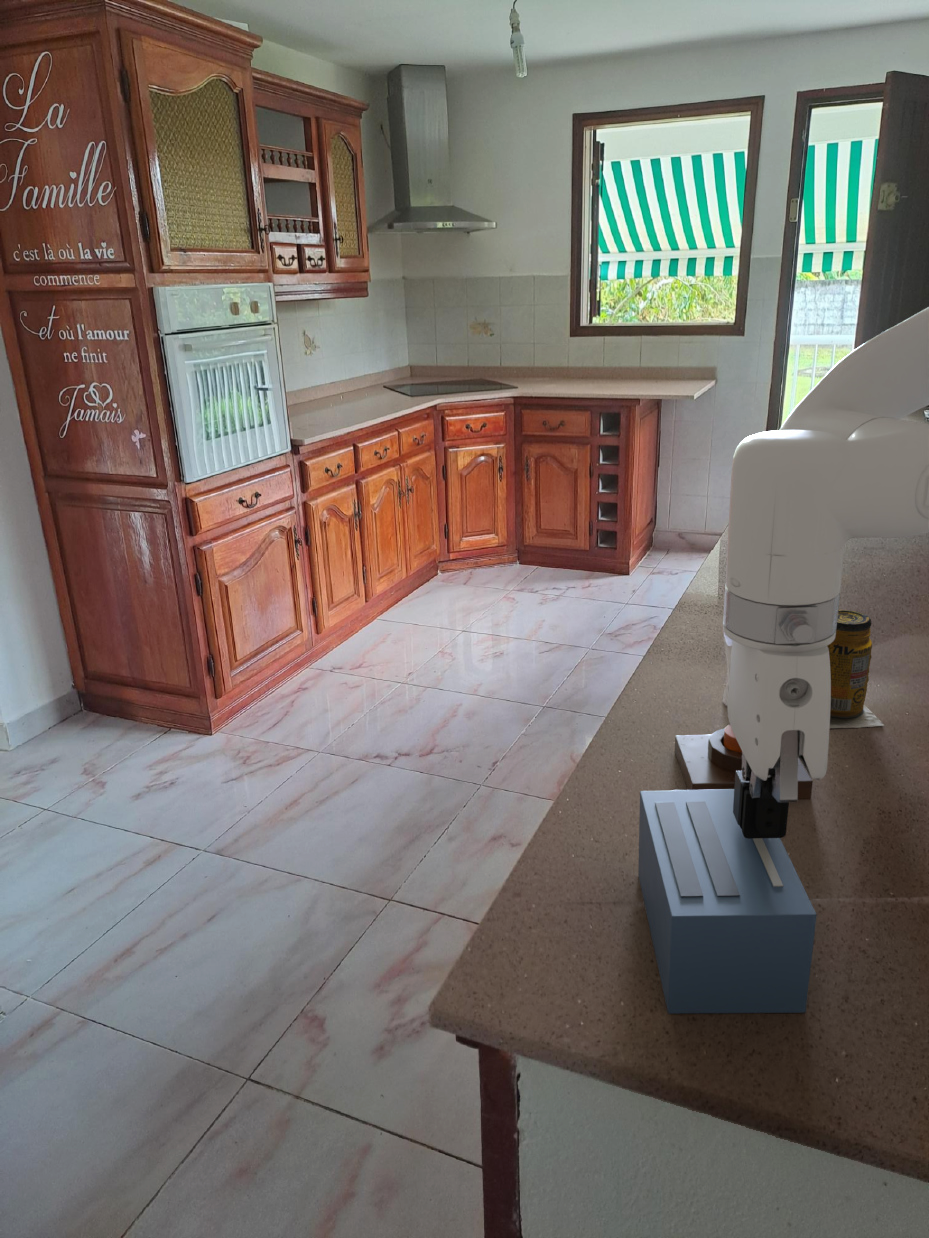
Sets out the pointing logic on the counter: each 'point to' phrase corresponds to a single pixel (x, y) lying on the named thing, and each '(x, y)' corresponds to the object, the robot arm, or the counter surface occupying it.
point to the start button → (731, 740)
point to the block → (719, 764)
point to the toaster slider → (737, 794)
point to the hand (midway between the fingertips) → (761, 831)
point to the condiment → (850, 672)
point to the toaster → (722, 908)
